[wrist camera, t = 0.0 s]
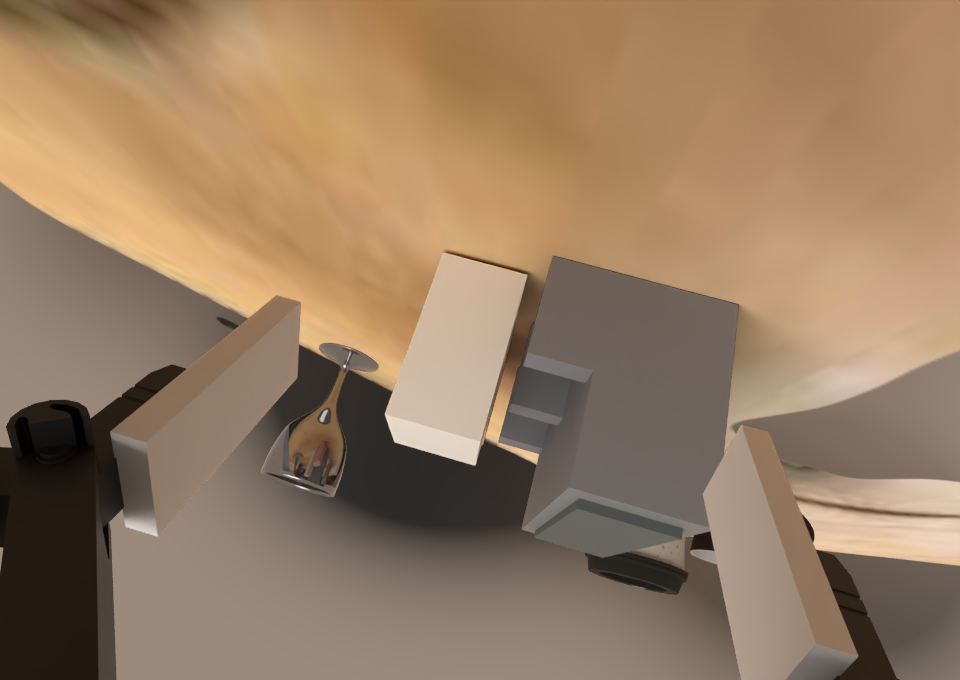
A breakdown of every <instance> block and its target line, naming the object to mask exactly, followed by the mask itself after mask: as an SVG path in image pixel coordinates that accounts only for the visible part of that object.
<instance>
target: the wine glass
mask: <svg viewBox="0 0 960 680" xmlns="http://www.w3.org/2000/svg"><path fill="white" fill-rule="evenodd" d="M319 350H320V351H321V353H322V354H323V355H324V356H326V357H327V358H329V359H330V360H332V361H334V362H336V363H338V364H339V365H340V367H341V368H340V372H339V375H338V377H337V379H336V382H335V384H334V386H333V387H332V389H331V391H330V393H329V395H328V396H327V398H326V399H325V401H324V402H323V403H322V404H321V405H320V406H319V407H317V408H316V409H315V410H313V411H311V412H310V413H308V414H306V415H304V416H302V417H300V418H298V419H296V420H295V421H293V422H292V423H290V424H289V425H288V426H287V427H286V428H285V429H284V431H283V432H282V433H281V434H280V436H279V437H278V438H277V440H276V442H275V443H274V445H273V447H272V448H271V450H270V452H269V454H268V456H267V458H266V460H265V463H264V465H263V467H262V470H261V474H263V475H264V476H266V477H268V478H271V479H273V480H276V481H278V482H281V483H283V484H286V485H289V486H292V487H295V488H298V489H301V490H304V491H308V492H311V493H315V494H318V495H323V496H328V497H333V496H334V494H335V492H336V490H337V487H338V484H339V481H340V478H341V475H342V472H343V467H344V462H345V456H346V441H345V437H344V434H343V432H342V429H341V426H340V423H339V420H338V416H337V401H338V396H339V393H340V389H341V386H342V383H343V380H344V378H345V375H346V373H347V371H348V370H350V369H354V370H357V371H363V372H374V371H376V370H378V365H377V363H376V362H375V361H374V360H373V359H371V358H370V357H368V356H367V355H365V354H363V353H361V352H359V351H357V350H354V349H352V348H349V347H346V346H343V345H338V344H332V343H324V344H321V345H320V346H319Z"/></svg>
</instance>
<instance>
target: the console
mask: <svg viewBox="0 0 960 680" xmlns="http://www.w3.org/2000/svg"><path fill="white" fill-rule="evenodd" d="M738 310H739V305H738V304H734V303H730V302H726V301H722V300H719V299H715V298H711V297H707V296H703V295H700V294H696V293H692V292H688V291H684V290H681V289H677V288H673V287H669V286H666V285H662V284H658V283H654V282H650V281H647V280H643V279H639V278H635V277H631V276H628V275H624V274H620V273H616V272H612V271H609V270H605V269H601V268H597V267H593V266H590V265H586V264H582V263H578V262H574V261H571V260H567V259H563V258H559V257H556V256H553V259H552V262H551V265H550V268H549V272H548V275H547V279H546V283H545V286H544V290H543V294H542V298H541V301H540V305H539V309H538V313H537V316H536V320H535V323H532V326H531V329H530V333H529V336H528V340H527V344H526V347H525V351H524V355H523V359H522V362H521V366H520V367H519V368H518V371H517V375H516V378H515V382H514V386H513V389H512V393H511V397H510V400H509V404H508V408H507V411H506V415H505V419H504V423H503V426H502V430H501V434H500V437H499V441H498V442H499V443H503V444H506V445H510V446H513V447H517V448H520V449H524V450H527V451H530V452H534V453H537V454H539V458H538V462H537V466H536V470H535V475H534V479H533V483H532V488H531V491H530V496H529V500H528V504H527V508H526V513H525V517H524V521H523V526H522V530H525V531H529V532H532V533H535V535H534V537H535V538H538V539H541V540H545V541H548V542H551V543H554V544H558V545H561V546H565V547H568V548H571V549H575V550H578V551H582V552H585V553H588V554H591V555H595V556H598V557H602V558H604V557H608V556H613V555H617V554H621V553H625V552H630V551H634V550H638V549H643V548H647V547H651V546H655V545H660V544H664V543H668V542H672V541H677V540H681V539H682V538H684V537H688V536H693V535H697V534H701V533H705V532H709V531H710V527H709V522H708V517H707V513H706V508H705V503H704V498H703V493H704V491H705V489H706V487H707V485H708V484H709V482H710V480H711V478H712V476H713V475H714V473H715V471H716V469H717V467H718V466H719V464H720V462H721V460H722V458H723V456H724V446H725V436H726V427H727V417H728V407H729V397H730V388H731V378H732V368H733V358H734V349H735V339H736V329H737V319H738Z"/></svg>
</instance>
